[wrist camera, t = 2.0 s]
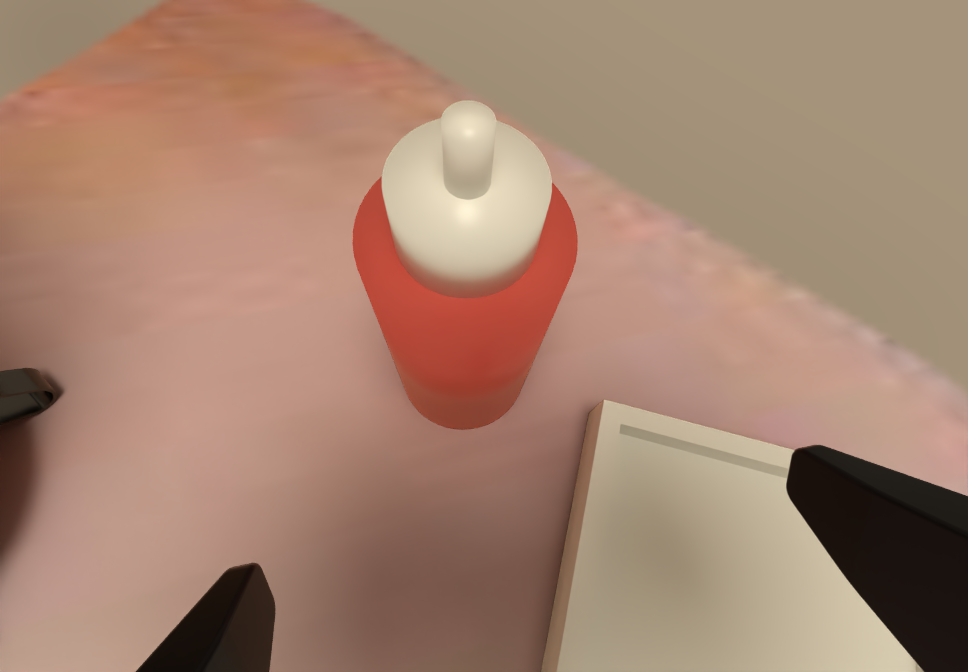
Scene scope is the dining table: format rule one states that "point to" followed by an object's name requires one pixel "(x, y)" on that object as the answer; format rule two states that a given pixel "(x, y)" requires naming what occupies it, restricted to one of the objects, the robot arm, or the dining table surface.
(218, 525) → the dining table surface
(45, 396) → the coffee press
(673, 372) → the dining table surface
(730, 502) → the tray
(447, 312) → the squeeze bottle
